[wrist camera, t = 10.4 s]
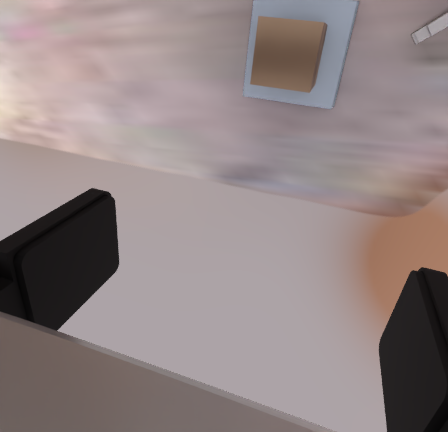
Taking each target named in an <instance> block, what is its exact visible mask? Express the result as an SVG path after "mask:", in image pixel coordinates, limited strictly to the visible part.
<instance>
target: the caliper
mask: <svg viewBox="0 0 448 432" xmlns="http://www.w3.org/2000/svg"><path fill="white" fill-rule="evenodd" d="M446 27H448V12H446V13H444V14H443V15H441V16H440V17H438V18H436V19H435V20H433V21H432V22H430V23H429V24H427V25H426V26H424V27H422V28H421V29H419V30H417V31H416V32H414V33H413V34H411V36H412V38H413V40H414V42H415V44H417V43H419V42H421V41H423V40H424V39H426V38H428V37H430V36H432V35H434V34H436V33H438V32H439V31H441V30H443V29H444V28H446Z"/></svg>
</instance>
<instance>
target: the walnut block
mask: <svg viewBox="0 0 448 432" xmlns="http://www.w3.org/2000/svg"><path fill="white" fill-rule="evenodd" d="M327 26H328V25H327V24H326V23H324V22H316V21H306V20H295V19H285V18H275V17H264V16H258V23H257V31H256V40H255V48H254V56H253V64H252V72H251V81H250V84H251V85H258V86H265V87H272V88H279V89H286V90H293V91H300V92H307V93H310V92H311V90H312V89H313V87H314V86H315V84H316V79H317V74H318V69H319V65H320V60H321V55H322V50H323V46H324V41H325V36H326V31H327Z"/></svg>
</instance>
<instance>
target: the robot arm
mask: <svg viewBox="0 0 448 432" xmlns="http://www.w3.org/2000/svg"><path fill="white" fill-rule="evenodd" d="M118 254H119V253H118V239H117V223H116V208H115V200H114V198H113V197H111V194H110V193H109V192H107V191H103V190H98V189H94V188H92V189H89V190H88V191H86V192H84V193H82V194H81V195H79V196H77V197H76V198H74V199H72V200H70V201H69V202H67V203H65V204H63V205H62V206H60V207H58V208H57V209H55V210H53V211H51V212H50V213H48V214H46V215H45V216H43V217H41V218H39V219H38V220H36V221H34V222H32V223H31V224H29V225H27V226H26V227H24V228H22V229H20V230H19V231H17V232H15V233H13V234H12V235H10V236H8V237H7V238H5V239H3V240H1V241H0V432H335V431H332V430H330V429H327V428H325V427H322V426H320V425H317V424H314V423H312V422H309V421H306V420H303V419H301V418H298V417H295V416H293V415H290V414H287V413H284V412H282V411H279V410H276V409H273V408H270V407H268V406H265V405H262V404H259V403H257V402H254V401H251V400H249V399H246V398H243V397H240V396H237V395H235V394H232V393H229V392H227V391H224V390H221V389H218V388H216V387H213V386H210V385H207V384H205V383H202V382H199V381H196V380H193V379H190V378H188V377H185V376H182V375H179V374H177V373H174V372H171V371H168V370H166V369H163V368H160V367H157V366H154V365H152V364H149V363H146V362H143V361H140V360H138V359H134V358H132V357H129V356H126V355H124V354H121V353H118V352H115V351H112V350H110V349H107V348H104V347H101V346H98V345H95V344H92V343H90V342H87V341H84V340H81V339H78V338H75V337H73V336H70V335H67V334H64V333H61V332H58V331H57V330H58V329H59V328H60V327H61V326H62V325H63V324H64V323H65V322H66V321H67V320H68V319H69V318H70V317H71V316H72V315H73V314H74V313H75V312H76V311H77V310H78V309H79V308H80V307H81V306H82V305H83V304H84V303H85V302H86V301H87V300H88V299H89V298H90V297H91V296H92V295H93V294H94V293H95V292H96V291H97V290H98V289H99V288H100V287H101V286H102V285H103V284H104V283H105V282H106V281H107V280H108V279H109V278H110V277H111V276H112V275H113V274H114V273H115V272H116V270H117V268H118V265H119V255H118ZM379 356H380V366H381V375H382V386H383V395H384V404H385V414H386V423H387V432H448V276H447V274H446V273H444V272H440V271H436V270H432V269H428V268H423V267H422V268H420V269H419V270H418V271H414V270H413V271H411V273H410V274H409V277H408V279H407V281H406V283H405V285H404V288H403V290H402V292H401V295H400V297H399V299H398V301H397V303H396V306H395V308H394V310H393V312H392V314H391V317H390V319H389V321H388V323H387V325H386V328H385V330H384V332H383V334H382V337H381V339H380V343H379Z"/></svg>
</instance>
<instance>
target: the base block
mask: <svg viewBox="0 0 448 432" xmlns="http://www.w3.org/2000/svg"><path fill="white" fill-rule="evenodd" d="M358 4H359V1H353V0H253V8H252V17H251V26H250V35H249V44H248V53H247V62H246V71H245V80H244V89H243V96H246V97H252V98H259V99H266V100H272V101H279V102H286V103H292V104H299V105H306V106H312V107H319V108H326V109H332V107H334V105H335V100H336V96H337V92H338V88H339V84H340V79H341V75H342V71H343V67H344V63H345V59H346V54H347V50H348V46H349V42H350V38H351V34H352V29H353V25H354V21H355V17H356V13H357V9H358ZM258 16H264V17H275V18H285V19H295V20H306V21H316V22H324V23H326V24H327V25H328V26H327V31H326V36H325V41H324V46H323V50H322V55H321V60H320V65H319V69H318V74H317V79H316V84H315V86H314V87H313V89H312V90H311V92H310V93H307V92H300V91H293V90H286V89H279V88H272V87H265V86H258V85H251V84H250V81H251V72H252V64H253V56H254V48H255V40H256V31H257V23H258Z"/></svg>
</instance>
